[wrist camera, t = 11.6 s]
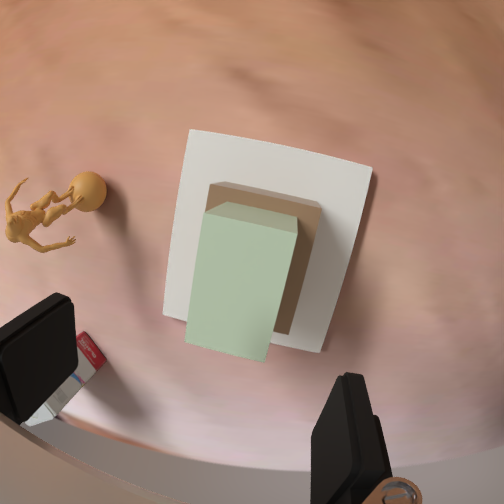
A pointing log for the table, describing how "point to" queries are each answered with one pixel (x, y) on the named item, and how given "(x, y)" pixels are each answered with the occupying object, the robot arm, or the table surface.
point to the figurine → (54, 209)
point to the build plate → (280, 177)
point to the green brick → (239, 279)
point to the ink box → (71, 380)
